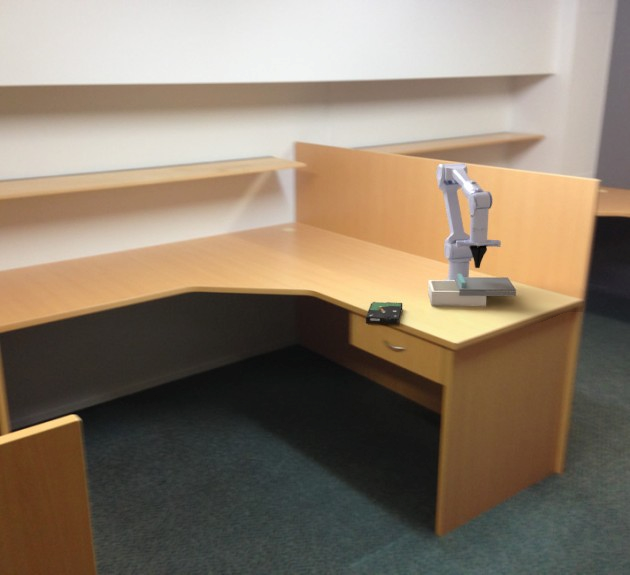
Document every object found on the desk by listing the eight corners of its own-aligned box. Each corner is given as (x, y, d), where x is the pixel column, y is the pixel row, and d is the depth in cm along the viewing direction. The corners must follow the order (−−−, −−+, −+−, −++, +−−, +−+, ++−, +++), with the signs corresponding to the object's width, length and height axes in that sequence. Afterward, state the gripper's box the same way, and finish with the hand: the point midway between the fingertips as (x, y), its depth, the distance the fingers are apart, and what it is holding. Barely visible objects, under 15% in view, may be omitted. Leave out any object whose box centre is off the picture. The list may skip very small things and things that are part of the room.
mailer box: (428, 293, 242) (428, 280, 240) (479, 293, 241) (480, 280, 239) (431, 305, 230) (431, 291, 228) (485, 306, 229) (486, 291, 227)
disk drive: (398, 326, 214) (402, 310, 228) (399, 318, 213) (402, 302, 227) (365, 325, 216) (371, 308, 230) (365, 316, 215) (371, 300, 229)
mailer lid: (454, 282, 241) (454, 271, 240) (507, 282, 240) (507, 271, 239) (459, 295, 227) (459, 284, 226) (515, 295, 226) (516, 284, 225)
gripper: (458, 230, 228) (457, 270, 232) (503, 230, 227) (501, 270, 231) (455, 226, 235) (454, 265, 239) (499, 226, 234) (497, 264, 237)
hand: (477, 267), depth 235 cm, fingers closed
